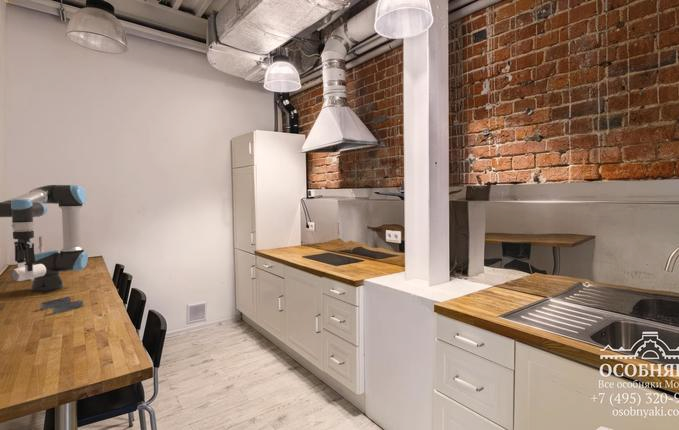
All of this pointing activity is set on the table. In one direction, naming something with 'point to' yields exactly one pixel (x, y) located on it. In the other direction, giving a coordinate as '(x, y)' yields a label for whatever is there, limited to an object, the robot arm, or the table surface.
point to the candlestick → (40, 248)
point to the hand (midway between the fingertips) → (25, 276)
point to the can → (20, 273)
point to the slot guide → (61, 305)
